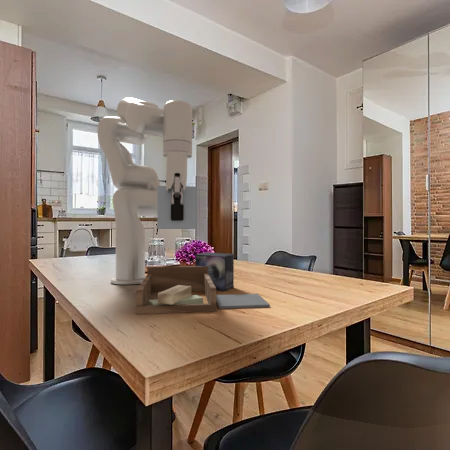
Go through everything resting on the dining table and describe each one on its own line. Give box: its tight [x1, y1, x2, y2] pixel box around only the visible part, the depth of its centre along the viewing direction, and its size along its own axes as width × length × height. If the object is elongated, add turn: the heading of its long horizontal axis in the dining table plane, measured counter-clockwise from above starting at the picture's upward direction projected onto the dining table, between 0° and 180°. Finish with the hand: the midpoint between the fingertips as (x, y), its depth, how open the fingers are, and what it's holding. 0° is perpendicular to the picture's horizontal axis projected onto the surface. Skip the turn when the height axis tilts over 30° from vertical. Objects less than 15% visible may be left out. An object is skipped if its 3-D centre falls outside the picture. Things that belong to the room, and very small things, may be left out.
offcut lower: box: [148, 294, 204, 305], centre depth 76 cm, size 4×12×2 cm, turn 118°
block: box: [156, 185, 198, 230], centre depth 85 cm, size 4×10×11 cm, turn 98°
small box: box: [194, 252, 235, 292], centre depth 99 cm, size 11×6×10 cm, turn 62°
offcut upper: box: [157, 285, 192, 305], centre depth 76 cm, size 4×10×2 cm, turn 162°
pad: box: [216, 293, 271, 310], centre depth 81 cm, size 12×12×1 cm
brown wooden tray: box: [135, 265, 217, 315], centre depth 83 cm, size 25×17×7 cm
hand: (177, 219), depth 85 cm, fingers closed on block, 3 cm apart
